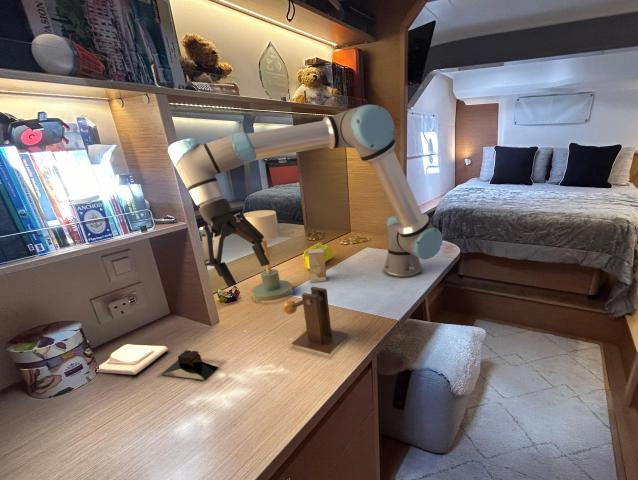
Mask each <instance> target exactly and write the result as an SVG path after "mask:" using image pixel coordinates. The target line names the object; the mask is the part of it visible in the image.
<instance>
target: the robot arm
mask: <svg viewBox="0 0 638 480" xmlns="http://www.w3.org/2000/svg"><path fill="white" fill-rule="evenodd" d="M394 133H395V123H394V120H393V118H392V115H391V114H390V112H389V111H387V110H386V109H385V108H384V107H382V106H380V105H377V104H363V105H361V106H357V107H353V108H349V109H346V110H345V111H342V112H339V113H337V114H333V115H328V116H324V117H323V119H322V120H319V121H313V122H308V123H307V122H306V123H303V124H302V123H301V124H295V125H291V126H290V125H289V126H284V127H280V128H273V129H266V130H261V131H255V132H248V133H246V132H245V131H240V132H237V133H233V134H232V133H231V134H229V135H226V136H223V137H219V138H218V139H216V140H213V141H210V142H207V143H202V144H200V143H199V141H198V140H197V139H196V138H193V137H191V138H190V137H189V138H186V139H180V140H178V141H174V142H173V143H171V144H170V145H169V146H168V148H167V153H168V155H169V157H170V160H171V162H172V163H173V165H174V166H173V167H174V168H175V170H176V172H177V173H178V175H179V177H180V178H181V181H182V183H183V184H184V185H185V188H186V189H187V191H188V193H189V195H190V196H191V199H192V200H193V202H194V204H195V206H197V207H199V208H198V211H199V213H200V215H201V217H202V220H203V221H204V222H206V223H207V225H202V226H201V227H199V228H198V233H199V235H200V237H201V246H202V256H203V257H202V258H203V263H204V264H203V265H204V266H205V267H209V266H210V267H214V269H215V271H216V273H217V275H218V276H219V277H222V279H223V281H224V282H225V284H226V286H227V288H229V287H234V286H236V285H237V282H236V280H235V278H234V276H233V274H232V273H231V271H230V269H229V267H228V265H227V263H226V261H223V262H222V257H223V251H224V249H223V248H224V242H225V239H226V237H229V236H231V235H233V234H234V235H236V236H238V237H240V238H242V239H243V240H245V241H247V242H249V243H250V244H252V246H251V249H252V250H253V252H254V254H255V256H256V258H257V260H258V262H259V264H260V266H261V267H264V266H265V267H266V265H268V264H270V265H271V262H270V263H269V261H268V259H267V257H266V255H265V250H264V248H263V246H262V242H263V240H262V239H264V236H263V235H262V234H261V233H260V232H259V231H258V230H257V229H256V228H255V227H254V226H253V225H252V224H251V223H250V222H249V221H248V220H247V219H246V218H245V216H244V213H243V212H242V211H240V212H237V213H234V214H233V208H232V206H231V203H230V202H229V200H228V199H227V198H225V197H226V194H225V192H224V190H223V188H222V187H221V185H220V182H219V181H218V179H217V177H216V175H220V174H221V173H224V172H227V171H229V170H233V169H235V168H238V167H239V168H240V167H241V166H244V165H245V166H246V165H248V164H249V163H252V162H254V161H257V160H258V161H259V160H263V159H268V158H274V157H279V156H284V155H290V154H295V153H298V152H299V153H300V152H306V151H311V150H316V149H322V148H325V147H328V148H329V149H331V150H333V149H339V148H341V149H342V148H347V149H348V148H349V149H355V150H356V152H357V154H358V155H359V158H360V160H361V161H362V163H366V164H369V166H370V168H371V170H372V172H373V175H374V177H375V178H376V181H377V182H378V185H379V187H380V189H381V190H382V192H383V194H384V197H385V199H386V200H387V202H388V204H389V207H390V208H391V210H392V213H393V214H394V215H392V216H390V217H388V218H387V220H386V233H387V237H386V238H387V256H386V258H385V262H384V265H383V272H384V273H385V274H386V275H388V276H390V277H394V278H410V277H413V276H417V275H419V274H420V273H421V272H422V265H421V261H420V259H421V260H429V259H431V258H433V257H435V256H436V255H437V254H438V253H439V252H440V250H441V247H442V246H443V239H444V238H443V234H442V233H441V231H440V229H438V228H436V227H434V226H433V224H432V222H431V220H430V218H429V216H428V214H426V213H423V212H422V210H421V208H420V205H419V204H418V202H417V200H416V196H415V194H414V193H413V191H412V188H411V186H410V183H409V181H408V179H407V177H406V175H405V172H404V170H403V167H402V166H401V164H400V162H399V160H398V157H397V155H396V153H395V147H396V143H397V142H396V141H395V138H394ZM212 233H213V234H212ZM212 235H213V236H212Z"/></svg>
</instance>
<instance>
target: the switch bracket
mask: <svg viewBox="0 0 638 480" xmlns="http://www.w3.org/2000/svg"><path fill="white" fill-rule="evenodd" d="M317 291H319V292H320V293H321V295H322V297H323V299H322V300H321V301H319V299H318V295H314V294H312V293H314V292H317ZM301 299H302V300H303V305H302V306H303V312H304V319H305V328H306V331H304V332H303V333H302V334H301V335H300V336H298V337H297V338H296V339H295V340H293V341H292V342H291V344H290V345H294V346H297V347H301V348H305V349H309V350H311V351H312V350H313V351H316V352H320V353H325V354H327V355H330V354H331V352H332V351H334V350H335V349H336V348H337V347H338V345H339V344H340V343H341V342H342V341H344V340H345V338H346V337H347V336H348V335H349V333H348V332H343V331H338V330H333V329H332V326H331V325H332V324H331V316H330V309H329V308H330V306H329V297H328V290H327V288H324V287H317V286H312V287H310V293H309V292H302V293H301ZM302 300H301V301H302Z"/></svg>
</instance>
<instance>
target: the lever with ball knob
mask: <svg viewBox="0 0 638 480" xmlns="http://www.w3.org/2000/svg"><path fill="white" fill-rule="evenodd" d="M311 294H314V295H318V299H319V301H321V300H322V299H323V297H322V295H321V293H320V292H319V291H317V292H314V293H311ZM300 306H303V300H300V301H297V302H295V301H294V300H290V299H289V300H286V301H285V302H284V303H283V304H282V309H283V312H284V313H285V314H287V315H293V314H295V313H296V311H297V310H298V307H300Z"/></svg>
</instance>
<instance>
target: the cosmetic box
mask: <svg viewBox="0 0 638 480" xmlns="http://www.w3.org/2000/svg"><path fill="white" fill-rule="evenodd" d="M307 251H308V257H309V267H310V269H309V275H310V282H311V283H317V282H327V268H326V262H325V255H324V249H314V250H307Z"/></svg>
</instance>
